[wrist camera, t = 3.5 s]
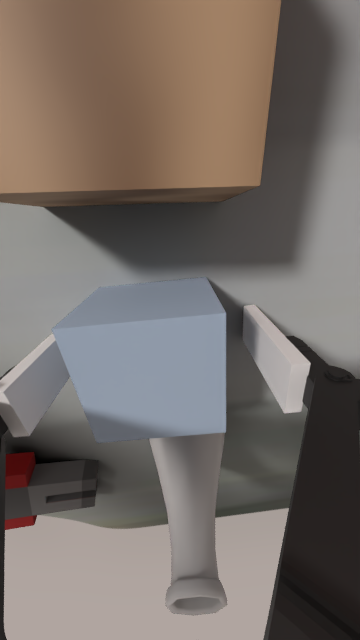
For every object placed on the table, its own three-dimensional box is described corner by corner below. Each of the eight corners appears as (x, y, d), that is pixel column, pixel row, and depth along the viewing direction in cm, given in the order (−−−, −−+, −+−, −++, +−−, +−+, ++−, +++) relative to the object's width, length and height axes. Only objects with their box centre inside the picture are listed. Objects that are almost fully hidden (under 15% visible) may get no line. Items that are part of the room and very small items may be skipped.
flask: (147, 454, 21) (127, 628, 12) (148, 400, 18) (123, 579, 9) (218, 456, 22) (250, 626, 13) (231, 404, 19) (285, 578, 9)
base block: (45, 207, 12) (-63, 195, 6) (-38, -104, 8) (-554, -896, 2) (221, 201, 12) (260, 185, 7) (236, -109, 8) (380, -877, 2)
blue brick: (122, 371, 17) (97, 443, 11) (99, 287, 14) (51, 329, 8) (209, 363, 17) (225, 432, 11) (205, 276, 14) (225, 312, 8)
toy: (102, 424, 23) (-77, 433, 19) (94, 490, 18) (-159, 524, 13) (98, 471, 27) (-52, 488, 22) (91, 538, 21) (-109, 577, 17)
